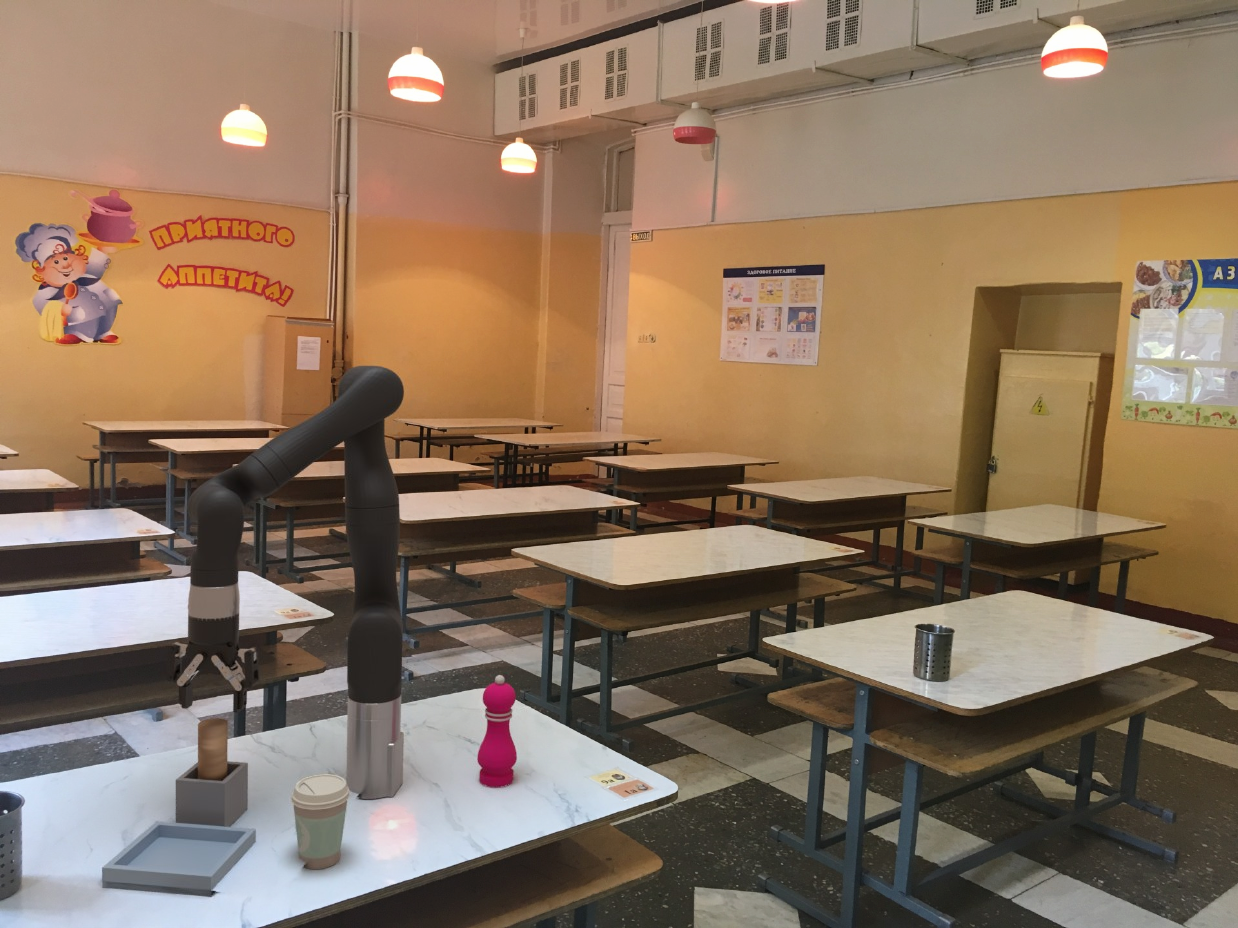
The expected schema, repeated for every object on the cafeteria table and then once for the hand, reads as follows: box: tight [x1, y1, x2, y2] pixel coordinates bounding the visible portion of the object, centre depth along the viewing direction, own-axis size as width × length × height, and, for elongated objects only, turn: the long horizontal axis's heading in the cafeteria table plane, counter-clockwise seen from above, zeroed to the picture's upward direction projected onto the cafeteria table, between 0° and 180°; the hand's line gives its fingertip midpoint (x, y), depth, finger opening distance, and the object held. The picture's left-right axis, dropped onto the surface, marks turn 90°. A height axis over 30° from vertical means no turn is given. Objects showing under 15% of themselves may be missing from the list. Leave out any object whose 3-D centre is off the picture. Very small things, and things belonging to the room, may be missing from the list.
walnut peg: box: [197, 717, 229, 781], centre depth 154 cm, size 4×4×16 cm
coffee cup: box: [290, 773, 351, 870], centre depth 145 cm, size 8×8×12 cm
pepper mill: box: [476, 674, 518, 788], centre depth 175 cm, size 7×7×20 cm
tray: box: [101, 820, 257, 898], centre depth 141 cm, size 16×14×3 cm
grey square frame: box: [175, 760, 249, 827], centre depth 154 cm, size 8×8×9 cm
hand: (212, 708), depth 153 cm, fingers open, 8 cm apart
